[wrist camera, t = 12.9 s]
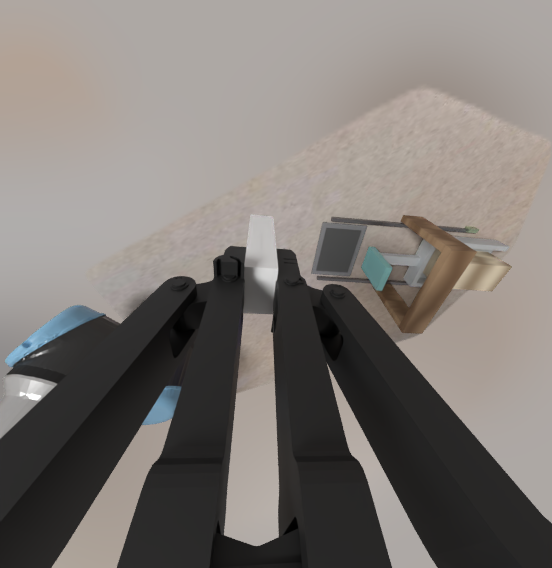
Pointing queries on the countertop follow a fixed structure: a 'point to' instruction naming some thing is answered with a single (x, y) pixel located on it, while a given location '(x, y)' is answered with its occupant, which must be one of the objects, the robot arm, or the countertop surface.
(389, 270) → the sled
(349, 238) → the pad
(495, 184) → the countertop surface
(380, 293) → the tunnel
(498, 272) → the bar
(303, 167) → the countertop surface
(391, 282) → the track
